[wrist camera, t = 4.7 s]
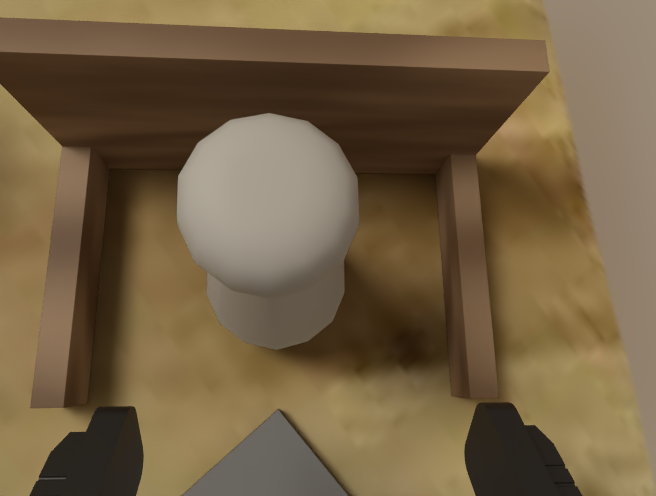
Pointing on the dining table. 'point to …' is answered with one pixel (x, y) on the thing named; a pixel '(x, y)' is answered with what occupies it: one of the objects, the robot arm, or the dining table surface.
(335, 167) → the salt shaker
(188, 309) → the dining table surface
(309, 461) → the mat
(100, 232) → the wooden stand
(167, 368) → the dining table surface
